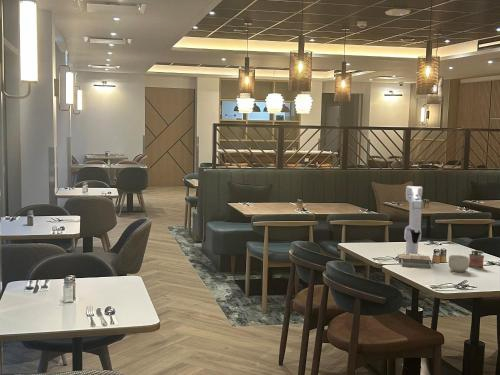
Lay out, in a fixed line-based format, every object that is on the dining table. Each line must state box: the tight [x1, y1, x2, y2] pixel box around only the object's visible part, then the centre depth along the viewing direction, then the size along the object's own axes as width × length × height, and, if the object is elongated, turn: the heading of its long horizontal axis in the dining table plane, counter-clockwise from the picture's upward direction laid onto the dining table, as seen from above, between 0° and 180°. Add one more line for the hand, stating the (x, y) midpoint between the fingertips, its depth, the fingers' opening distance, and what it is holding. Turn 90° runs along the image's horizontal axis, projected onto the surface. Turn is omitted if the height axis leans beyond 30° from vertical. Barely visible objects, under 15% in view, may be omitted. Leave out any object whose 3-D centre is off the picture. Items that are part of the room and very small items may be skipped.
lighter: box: [468, 249, 485, 270], centre depth 345 cm, size 8×3×10 cm, turn 62°
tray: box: [400, 259, 432, 269], centre depth 345 cm, size 10×16×2 cm, turn 80°
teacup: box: [448, 254, 469, 273], centre depth 337 cm, size 14×11×8 cm
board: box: [397, 253, 432, 264], centre depth 356 cm, size 12×18×2 cm
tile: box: [409, 253, 422, 259], centre depth 353 cm, size 5×6×2 cm
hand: (414, 242), depth 359 cm, fingers open, 4 cm apart
